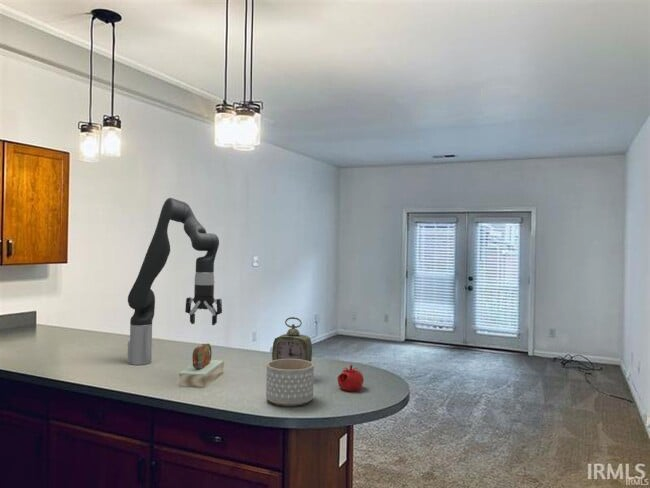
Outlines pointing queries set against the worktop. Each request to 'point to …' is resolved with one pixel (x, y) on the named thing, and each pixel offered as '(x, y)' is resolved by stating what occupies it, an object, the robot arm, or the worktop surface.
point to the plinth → (201, 374)
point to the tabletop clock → (292, 345)
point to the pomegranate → (350, 379)
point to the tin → (201, 356)
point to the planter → (289, 381)
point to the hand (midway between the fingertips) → (203, 324)
